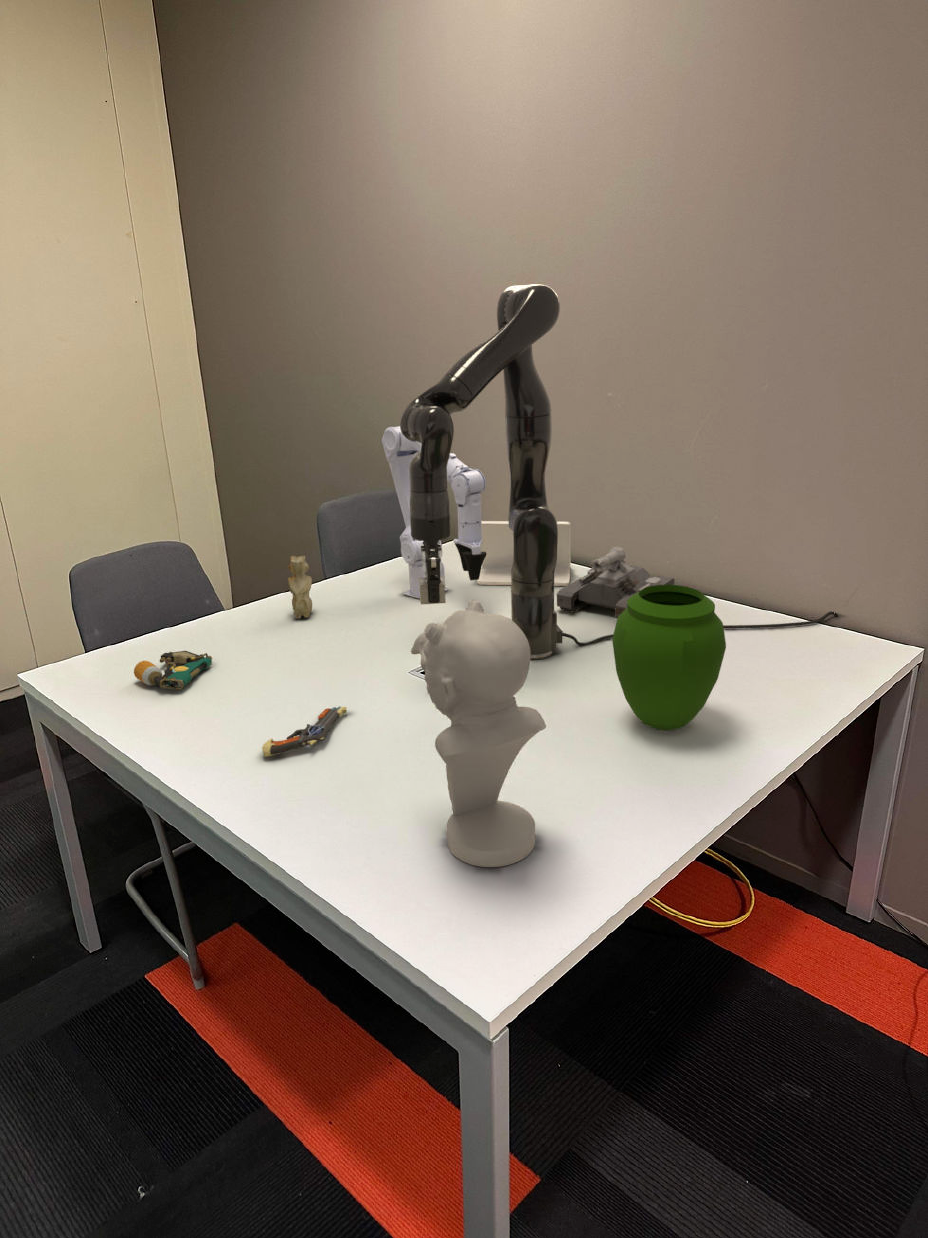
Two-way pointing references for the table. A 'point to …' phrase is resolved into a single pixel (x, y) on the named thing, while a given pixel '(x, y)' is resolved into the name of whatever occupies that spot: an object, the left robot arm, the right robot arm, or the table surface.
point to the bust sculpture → (481, 729)
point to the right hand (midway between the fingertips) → (433, 597)
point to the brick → (424, 591)
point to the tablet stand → (502, 552)
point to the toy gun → (305, 733)
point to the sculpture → (300, 587)
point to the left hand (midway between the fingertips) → (471, 574)
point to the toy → (608, 584)
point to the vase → (668, 654)
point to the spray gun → (172, 669)
